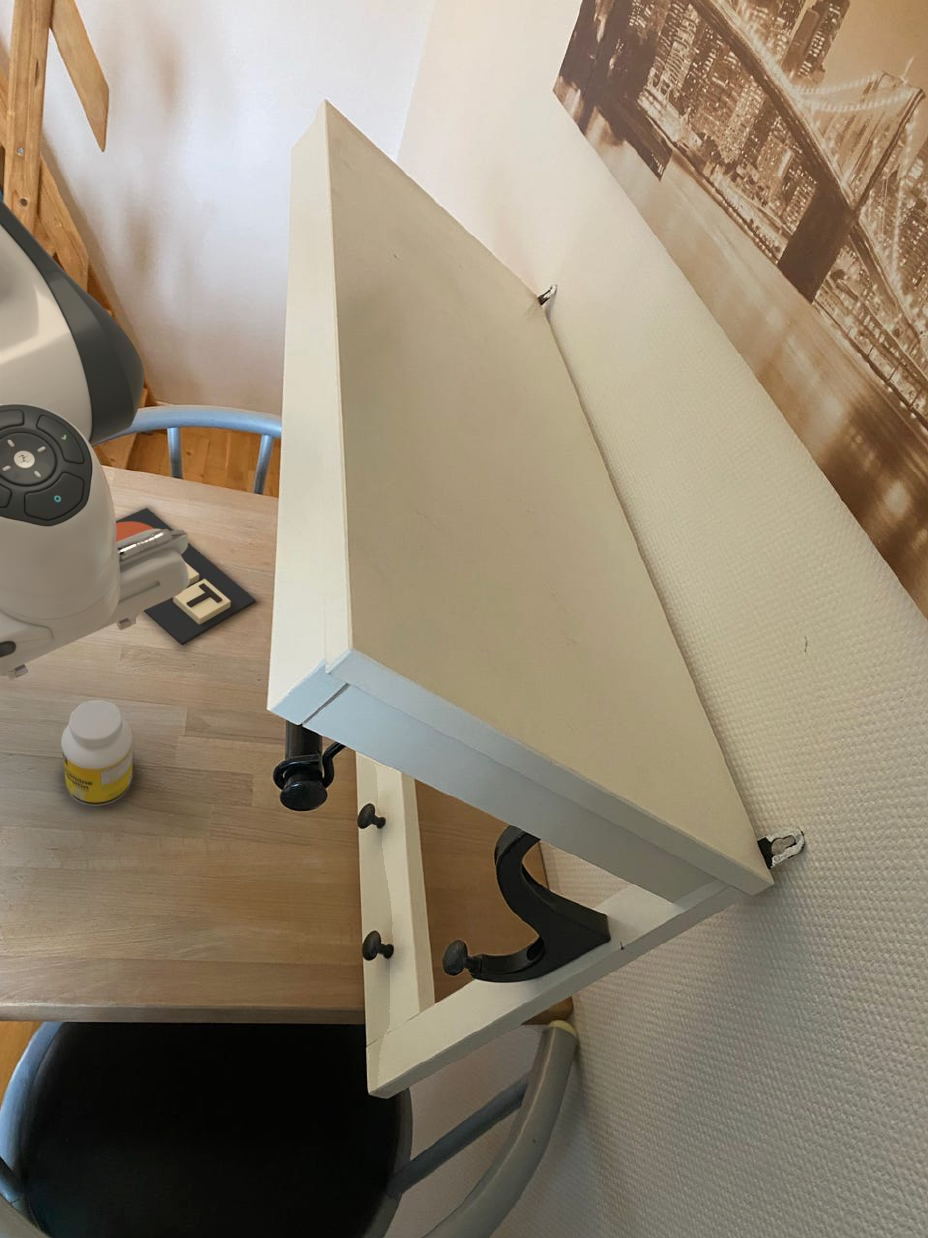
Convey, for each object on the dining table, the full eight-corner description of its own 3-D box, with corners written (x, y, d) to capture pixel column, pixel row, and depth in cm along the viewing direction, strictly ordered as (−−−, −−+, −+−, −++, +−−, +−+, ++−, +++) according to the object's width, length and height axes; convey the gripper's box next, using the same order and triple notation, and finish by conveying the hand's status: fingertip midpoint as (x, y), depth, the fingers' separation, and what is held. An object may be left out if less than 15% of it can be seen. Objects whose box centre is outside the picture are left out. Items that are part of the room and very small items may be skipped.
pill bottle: (60, 764, 87) (52, 699, 79) (125, 749, 90) (123, 685, 82) (72, 816, 84) (65, 754, 75) (139, 799, 87) (138, 737, 79)
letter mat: (69, 547, 107) (67, 533, 105) (146, 512, 115) (146, 499, 113) (181, 648, 101) (182, 635, 99) (255, 604, 109) (257, 592, 107)
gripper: (167, 490, 64) (165, 566, 76) (-120, 600, 55) (-71, 667, 67) (208, 556, 63) (199, 621, 75) (-77, 679, 54) (-35, 732, 66)
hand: (71, 644), depth 71 cm, fingers open, 8 cm apart
